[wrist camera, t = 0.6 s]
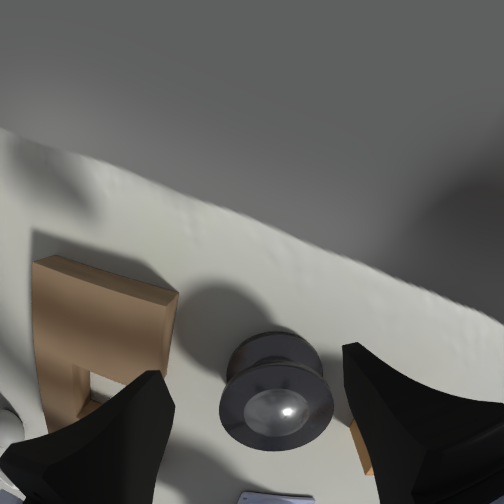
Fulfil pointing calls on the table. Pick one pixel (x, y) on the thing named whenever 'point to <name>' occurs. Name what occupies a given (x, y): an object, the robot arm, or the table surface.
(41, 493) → the robot arm
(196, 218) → the table surface
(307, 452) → the table surface
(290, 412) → the bobbin
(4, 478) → the marker
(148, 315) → the notched board
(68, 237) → the table surface
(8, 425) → the molecule model
